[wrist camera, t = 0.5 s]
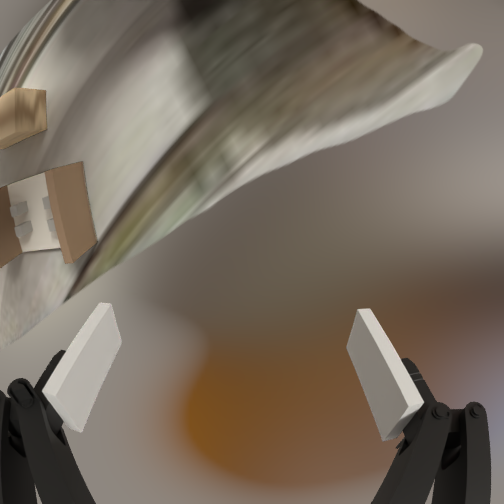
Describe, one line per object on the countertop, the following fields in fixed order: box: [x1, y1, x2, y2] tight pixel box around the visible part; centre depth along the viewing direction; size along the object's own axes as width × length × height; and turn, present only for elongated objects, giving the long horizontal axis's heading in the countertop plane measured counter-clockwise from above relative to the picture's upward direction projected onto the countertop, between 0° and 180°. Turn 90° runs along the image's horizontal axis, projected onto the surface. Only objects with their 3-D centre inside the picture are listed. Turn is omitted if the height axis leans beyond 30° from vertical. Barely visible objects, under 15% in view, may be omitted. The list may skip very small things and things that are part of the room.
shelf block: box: [0, 88, 47, 149], centre depth 27 cm, size 7×12×8 cm, turn 94°
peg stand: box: [0, 161, 98, 268], centre depth 33 cm, size 13×20×8 cm, turn 94°
